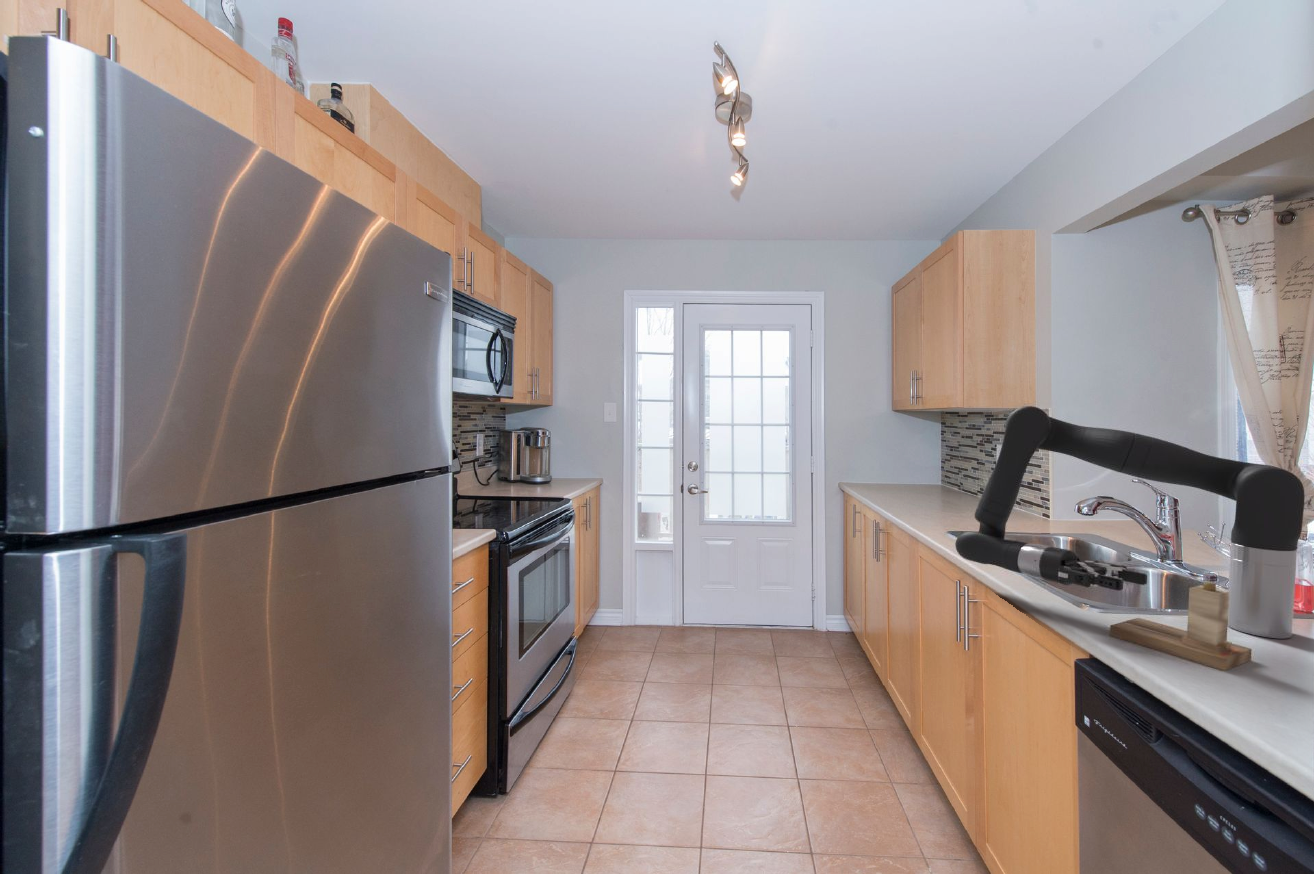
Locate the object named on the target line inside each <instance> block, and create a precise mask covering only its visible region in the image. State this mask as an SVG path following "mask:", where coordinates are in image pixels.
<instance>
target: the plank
mask: <svg viewBox="0 0 1314 874" xmlns="http://www.w3.org/2000/svg"><path fill="white" fill-rule="evenodd" d="M1109 631H1110V632H1109V636H1110V637H1114V638H1117V639H1120V640H1123V641H1127V642H1131V643H1133V644H1137V645H1139V646H1143V647H1146V648H1149V649H1153V650H1155V651H1159V652H1162V653H1165V654H1168V655H1173V656H1175V657H1179V658H1182V659H1185V660H1188V661H1191V662H1195V663H1197V664H1202V665H1205V666H1208V667H1211V668H1214V669H1217V670H1220V671H1227V670H1230V669H1232V668H1234V667H1237V666H1239V665H1242V664H1245V663H1247V662H1249V661H1252V648H1250V647H1246V646H1242V645H1240V644H1236V643H1235V644H1234V643H1232V647H1231V650H1228V651H1225V652H1223V653H1220V654H1215V653H1212V652H1208V651H1205V650H1201V649H1198V648H1195V647H1191V646H1188V645H1184V644H1182V637H1184V636H1187V630H1184V629H1180V628H1177V627H1173V626H1170V625H1166V624H1162V623H1159V622H1155V621H1152V620H1148V619H1145V618H1141V617H1135V618H1131V619H1128V620H1124V621H1121V622H1118V623H1114V624H1111V625H1110V628H1109Z"/></svg>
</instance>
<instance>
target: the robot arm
mask: <svg viewBox="0 0 1314 874" xmlns="http://www.w3.org/2000/svg"><path fill="white" fill-rule="evenodd" d="M1037 450H1043V451H1049V452H1052V453H1058V454H1063V455H1067V456H1070V457H1074V458H1075V459H1079V460H1082V461H1084V462H1087V463H1089V464H1092V465H1095V466H1098V467H1101V468H1105V469H1108V470H1110V471H1114V472H1117V473H1121V474H1124V475H1128V476H1132V477H1135V478H1139V479H1142V480H1148V481H1152V482H1157V483H1163V484H1164V483H1165V484H1170V485H1177V486H1184V487H1191V488H1194V489H1195V488H1196V489H1199V490H1203V491H1205V492H1209V493H1212V494H1216V495H1219V496H1221V497H1224V498H1226V499H1230V500H1232V501H1235V502H1236V503H1235V516H1234V517H1235V518H1234V523H1233V527H1232V529H1231V532H1230V533H1231V534H1230V551H1229V552H1230V553H1229V554H1230V555H1229V569H1228V571H1229V572H1228V589H1227V591H1229V609H1228V627H1229V628H1231V629H1233V630H1236V631H1239V632H1242V633H1246V634H1249V635H1254V636H1259V637H1264V638H1272V639H1290V638H1292V636H1293V635H1292V634H1293V621H1294V620H1293V619H1294V605H1295V589H1296V573H1297V556H1298V555H1297V553H1298V543H1299V539H1300V537H1301V536H1302V535H1301V534H1302V531H1303V530H1302V529H1303V522H1304V521H1303V520H1304V510H1305V497H1306V495H1305V489H1304V488H1305V487H1304V485H1303V482H1302V481H1301V479H1299V477H1298V476H1297V475H1296V474H1294V473H1292V472H1291V471H1289V470H1286V469H1283V468H1281V467H1278V466H1274V465H1269V464H1261V463H1254V462H1253V463H1252V462H1245V461H1242V460H1241V461H1240V460H1234V459H1229V458H1224V457H1216V456H1213V455H1209V454H1205V453H1203V452H1200V451H1196V450H1193V449H1192V448H1189V447H1187V446H1186V447H1185V446H1183V445H1180V444H1176V443H1174V442H1170V441H1168V440H1165V439H1164V440H1163V439H1161V438H1156V437H1152V436H1150V435H1149V436H1148V435H1144V434H1141V433H1135V432H1131V431H1125V430H1120V429H1114V428H1113V429H1112V428H1105V427H1092V426H1083V425H1079V424H1074V423H1070V422H1067V421H1063V420H1060V419H1057V418H1054V417H1051V416H1049V415H1048V414H1047V413H1046V412H1045V411H1044V410H1043V409H1041V408H1039V407H1038V406H1037V407H1036V406H1033V405H1027V406H1026V405H1025V406H1020V407H1018V408H1016V409H1015V410H1013V411H1012V412H1011V413H1009V415H1008V417H1007V418H1006V420H1005V427H1004V436H1003V440H1002V443H1001V449H1000V451H999V454H998V457H997V460H996V464H995V466H994V468H993V470H992V472H991V475H990V477H989V479H988V481H987V483H986V485H985V488H984V490H983V492H982V495H981V497H980V499H979V501H978V505H977V507H976V509H975V513H974V519H975V520H976V521H977V522H979V529H978V531H977V532H976V531H965V532H963V533H961V534H959V536H957V538H956V540H955V550H956V552H957V554H959V556H960V557H962V558H963V559H964V560H967V561H970V562H975V563H978V564H982V565H990V566H991V565H992V566H996V567H998V568H1001V569H1005V570H1008V571H1009V572H1010V571H1011V572H1015V573H1018V574H1022V575H1026V576H1029V577H1032V578H1035V579H1039V580H1043V581H1046V582H1050V583H1055V584H1058V585H1062V586H1072V585H1073V584H1074V585H1077V586H1080V587H1085V588H1090V587H1091V586H1092V587H1094V588H1098V587H1102V588H1106V589H1110V590H1113V591H1119V592H1120V591H1123V590H1124V582H1128V583H1133V584H1136V585H1137V584H1138V585H1140V586H1144V585H1147V584H1148V575H1147V574H1146V573H1143V572H1138V571H1134V570H1130V569H1127V568H1128V567H1127V566H1125V565H1123V564H1122V565H1120V564H1116V563H1109V562H1105V561H1099V560H1096V559H1095V560H1084V561H1083V562H1082V561H1081V560H1080V558H1079V555H1078V554H1077V553H1076V552H1075V551H1074V550H1070V549H1065V548H1060V547H1055V546H1050V545H1047V544H1046V545H1045V544H1039V543H1029V542H1025V541H1024V542H1023V541H1019V540H1013V539H1012V540H1011V539H1005V537H1006V528H1007V527H1006V525H1007V523H1008V521H1009V519H1010V515H1011V514H1012V511H1013V508H1014V507H1015V504H1016V501H1017V499H1018V495H1019V492H1020V489H1021V486H1022V482H1023V479H1024V475H1025V473H1026V470H1027V468H1028V465H1029V463H1030V461H1031V460H1032V457H1033V456H1034V454H1035V452H1036V451H1037ZM1114 571H1117V573H1115V572H1114Z"/></svg>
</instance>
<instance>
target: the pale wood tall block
mask: <svg viewBox="0 0 1314 874" xmlns="http://www.w3.org/2000/svg"><path fill="white" fill-rule="evenodd" d="M1202 583H1203V585H1201V584H1200V585H1197V586H1191V587H1189V591H1188V610H1187V625H1186V627H1187V628H1186V631H1187V636H1184V637H1182V644H1184V645H1188V646H1191V647H1195V648H1198V649H1201V650H1205V651H1208V652H1212V653H1215V654H1220V653H1223V652H1225V651H1228V650H1231V647H1232V644H1233V643H1232V642H1231V641H1227V640H1228V627H1229V626H1228V609H1229V591H1228V590H1223V589H1219V588H1216V587H1217V583H1215V582H1210V581H1203V582H1202Z"/></svg>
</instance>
